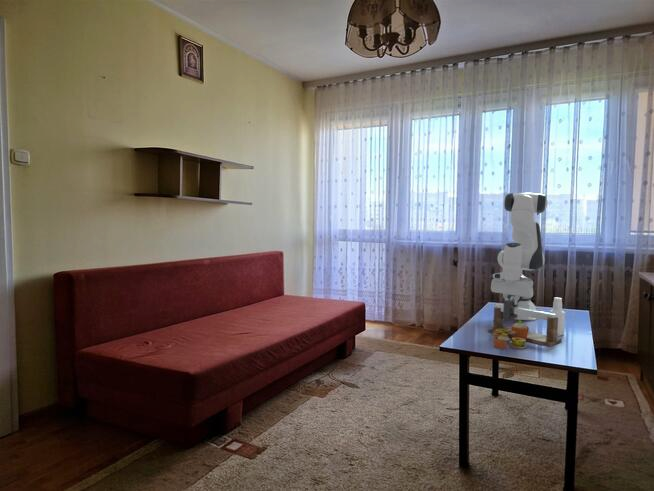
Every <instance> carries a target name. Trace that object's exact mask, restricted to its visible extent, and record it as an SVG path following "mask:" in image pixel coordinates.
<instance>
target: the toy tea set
mask: <svg viewBox="0 0 654 491" xmlns="http://www.w3.org/2000/svg"><path fill="white" fill-rule="evenodd" d="M522 321H523V320H518V322H516V323H514V324H512V325H511V326H510V327H511V328H512V337H513V338H512V337H511V338H510V337H509V336H508V335H507V330H505V329H502V328H500V329H495V332H494V331H493V333H492V336H493V338H492V339H493V345H494V346H493V347H494V349H495V348H496V349H500V350H504V349H506V348H507V342H508V341H509V343H510V344H509V346H511V348H515V349H526V348H527V347H528V346H527V344H526V343H527V341H526V340H527V335H528V331H529V330H530V328H529V327H528V326H527V325H526V324H525V323H523V322H522Z"/></svg>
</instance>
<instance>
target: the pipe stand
mask: <svg viewBox="0 0 654 491" xmlns="http://www.w3.org/2000/svg"><path fill="white" fill-rule="evenodd" d="M503 309H504V303H503V304H502V303H496V304H495V307H493V326H492V327H490V328H488V329H487V332H488V333H492V334H494V333H493V331H494V332H495V329H500V328H502V329H505V330H507V335H508V336H509V338H511V339H512V338H513V337H512V328H511V326H510V327H509V326H505V325H504V319H503ZM511 313H512V314H517V315H522V316H527V317H532V318H537V320H544V321H546V334H541V333H538V332H537V333H536V332H533V331H529V330H528V335H527V340H526V342H529V343H533V344H538V345H540V346H541V345H542V346H545V347H549V348H550V347H553V346H556V345H558V344H561V343H562V342H563V339H562V338H560V337H558V335H557V329H558V317H557V314H553V313H549V312H546V311H542V310H541V311H540V310H537V309H536V310H531V309H525V308H520V307H514V306H513V305H511V310H510V314H511Z"/></svg>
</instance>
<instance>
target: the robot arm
mask: <svg viewBox="0 0 654 491" xmlns="http://www.w3.org/2000/svg"><path fill="white" fill-rule="evenodd" d="M548 204H549V203H548V198H547V195H546V194H543V193H534V192H518V193H517V192H516V193H514V192H512V193H507V194H506V195H505V197H504V199H503V207H504V209H505V210H506V211H507V212H509V213H510V218H509V219H510V224H511V226H512V234H511V238H512V240H513V242H508V243H506V244H505V245H504V249H503V250H501V251H499V253H498V254H497V262H498V265H499V266H500V267H501V268H502V271H500V272H497V273H493V274H492V279H491V283H490V291H491V293H497V294H502V297H503V299H504V301H507V300H512V299H515V301H513V304H514V305H517V301H518V307H520V308H525V309H531V310H536V311H537V306H536V305H535V304H534V303H533V302H532V301H531V299H532V298H533V296H534V280H533V279H531V278H530V277H528V276H527V277H526V276H525V275H524V274H523V271H539V270H541V269H542V268H543V267H544V266H545V260H546V259H545V255H544V254H545V253H544V251H543V242H542V241H543V240H542V233H541V227H540V224H539V222H537V221H536V220H535V219H536V218H535V213H536V215H537V216H538V215H540V214H541V213H543V212H544V211H545V210H546V208H547V207H548ZM514 320H518V321H520V320H521V321H535V320H538V318H532V317H527V316H522V315H517V318H515V319H514Z"/></svg>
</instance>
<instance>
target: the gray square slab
mask: <svg viewBox="0 0 654 491" xmlns="http://www.w3.org/2000/svg"><path fill="white" fill-rule="evenodd" d="M513 301H515V299H512V300H507V301H505V300H504V301H503V305H504V309H503V321H505V320H506V321H510V320H516V319H515V318H517V314H512V313H511V314H510V310H511V305H513V306H514V307H518V301H517V305H514V304H513Z"/></svg>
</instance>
